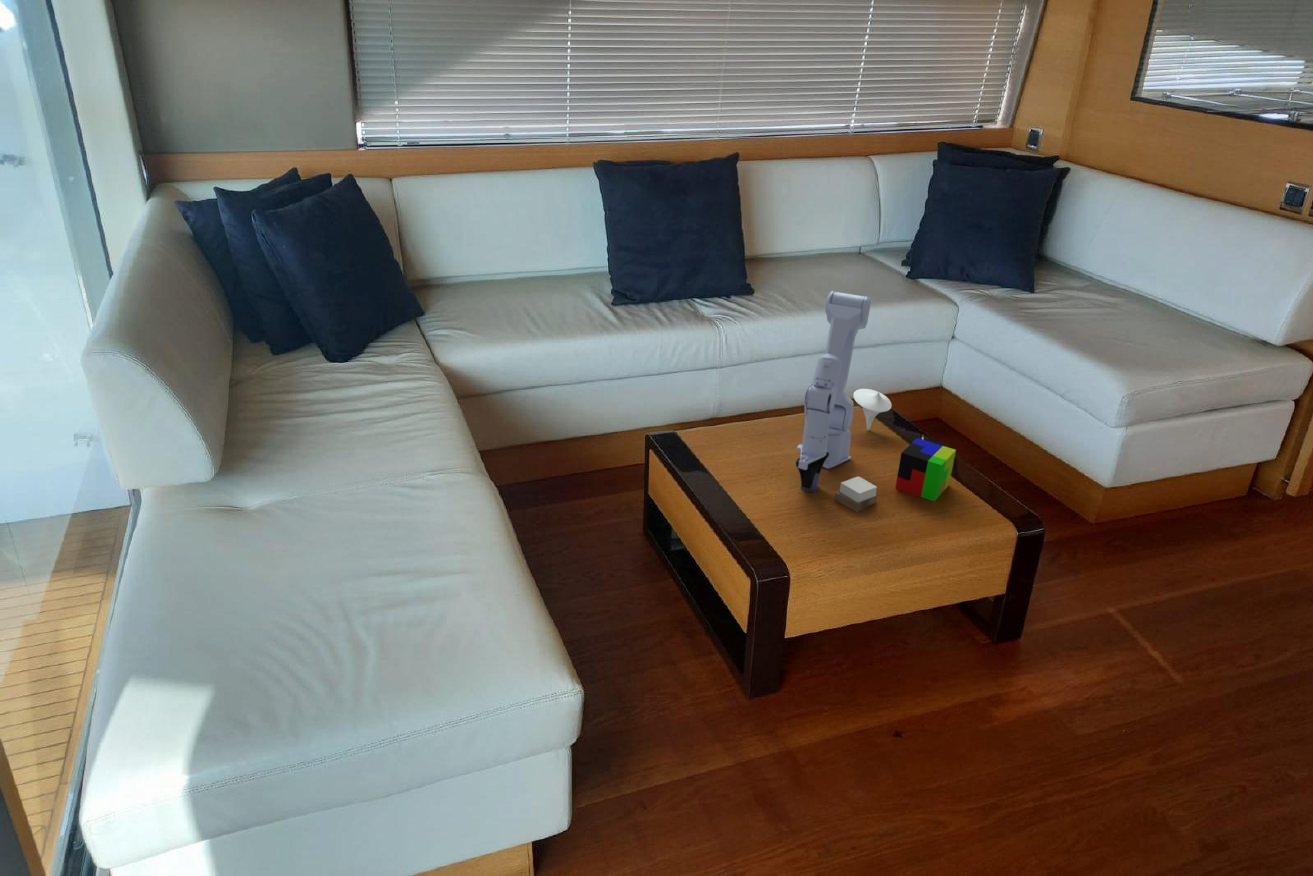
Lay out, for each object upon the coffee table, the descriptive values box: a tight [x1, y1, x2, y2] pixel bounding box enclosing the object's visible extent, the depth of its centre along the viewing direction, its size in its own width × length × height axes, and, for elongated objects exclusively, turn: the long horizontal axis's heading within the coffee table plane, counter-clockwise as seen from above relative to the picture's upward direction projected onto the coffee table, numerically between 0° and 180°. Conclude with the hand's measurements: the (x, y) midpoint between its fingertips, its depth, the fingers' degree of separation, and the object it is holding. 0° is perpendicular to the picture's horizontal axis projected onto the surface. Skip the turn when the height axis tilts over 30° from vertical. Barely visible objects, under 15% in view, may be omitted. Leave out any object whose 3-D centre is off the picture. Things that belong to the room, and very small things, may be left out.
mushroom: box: [852, 388, 892, 431], centre depth 256 cm, size 10×11×12 cm
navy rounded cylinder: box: [800, 472, 820, 493], centre depth 227 cm, size 4×4×4 cm
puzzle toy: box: [894, 438, 957, 502], centre depth 229 cm, size 10×10×10 cm
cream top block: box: [839, 475, 878, 503], centre depth 222 cm, size 6×6×2 cm
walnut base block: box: [834, 490, 878, 513], centre depth 223 cm, size 7×7×2 cm
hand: (809, 483), depth 228 cm, fingers closed on navy rounded cylinder, 4 cm apart
